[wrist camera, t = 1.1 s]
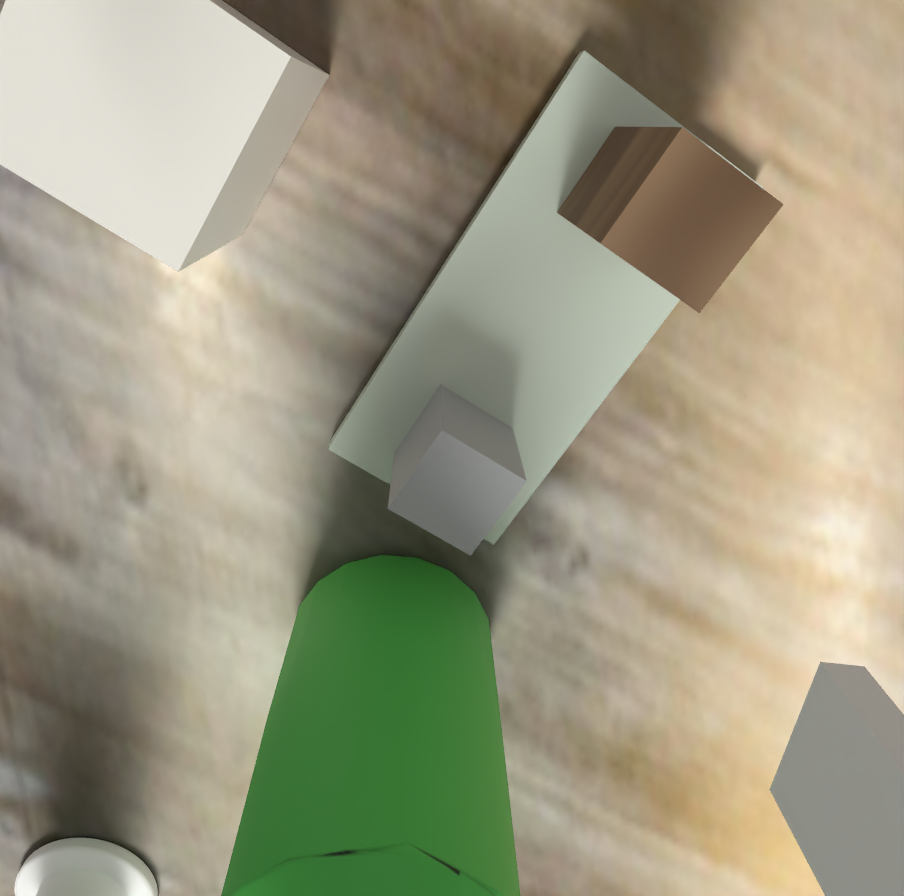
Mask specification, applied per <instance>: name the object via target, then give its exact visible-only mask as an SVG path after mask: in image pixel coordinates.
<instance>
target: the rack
mask: <svg viewBox="0 0 904 896" xmlns="http://www.w3.org/2000/svg"><path fill="white" fill-rule="evenodd" d="M614 127H683V128H684V129H686V128H685V127H684V126H682V125H681V124H680V123H678V122H677V121H676V120H674V119H673V118H672V117H671V116H669V115H668V114H667V113H665V112H664V111H663V110H661V109H660V108H659V107H658V106H656V105H655V104H654V103H652V102H651V101H650V100H648V99H647V98H646V97H644V96H643V95H642V94H641V93H639V92H638V91H637V90H635V89H634V88H633V87H631V86H630V85H629V84H627V83H626V82H625V81H624V80H622V79H621V78H620V77H618V76H617V75H616V74H614V73H613V72H612V71H611V70H609V69H608V68H607V67H605V66H604V65H603V64H601V63H600V62H599V61H597V60H596V59H595V58H594V57H592V56H591V55H590V54H588V53H587V52H586V51H582V52H580V53H579V54H578V55H577V57H576V58H575V60H574V61H573V63H572V65H571V66H570V68H569V69H568V71H567V72H566V74H565V75H564V77H563V79H562V80H561V82H560V83H559V85H558V86H557V88H556V90H555V91H554V93H553V94H552V96H551V97H550V99H549V100H548V102H547V104H546V105H545V107H544V108H543V110H542V111H541V113H540V114H539V116H538V118H537V119H536V121H535V122H534V124H533V125H532V127H531V128H530V130H529V132H528V133H527V135H526V136H525V138H524V139H523V141H522V143H521V144H520V146H519V147H518V149H517V150H516V152H515V153H514V155H513V157H512V158H511V160H510V161H509V163H508V164H507V166H506V167H505V169H504V171H503V172H502V174H501V175H500V177H499V178H498V180H497V181H496V183H495V185H494V186H493V188H492V189H491V191H490V192H489V194H488V196H487V197H486V199H485V200H484V202H483V203H482V205H481V206H480V208H479V210H478V211H477V213H476V214H475V216H474V217H473V219H472V220H471V222H470V224H469V225H468V227H467V228H466V230H465V231H464V233H463V234H462V236H461V238H460V239H459V241H458V242H457V244H456V245H455V247H454V249H453V250H452V252H451V253H450V255H449V256H448V258H447V259H446V261H445V263H444V264H443V266H442V267H441V269H440V270H439V272H438V273H437V275H436V277H435V278H434V280H433V281H432V283H431V284H430V286H429V287H428V289H427V291H426V292H425V294H424V295H423V297H422V298H421V300H420V302H419V303H418V305H417V306H416V308H415V309H414V311H413V312H412V314H411V316H410V317H409V319H408V320H407V322H406V323H405V325H404V326H403V328H402V330H401V331H400V333H399V334H398V336H397V337H396V339H395V340H394V342H393V344H392V345H391V347H390V348H389V350H388V351H387V353H386V354H385V356H384V358H383V359H382V361H381V362H380V364H379V365H378V367H377V369H376V370H375V372H374V373H373V375H372V376H371V378H370V379H369V381H368V383H367V384H366V386H365V387H364V389H363V390H362V392H361V393H360V395H359V397H358V398H357V400H356V401H355V403H354V404H353V406H352V407H351V409H350V411H349V412H348V414H347V415H346V417H345V418H344V420H343V422H342V423H341V425H340V426H339V428H338V429H337V431H336V432H335V434H334V436H333V437H332V439H331V441H330V444H329V447H328V450H330V451H332V452H333V453H335V454H337V455H339V456H340V457H342V458H344V459H346V460H347V461H349V462H351V463H353V464H354V465H356V466H358V467H360V468H361V469H363V470H365V471H367V472H368V473H370V474H372V475H373V476H375V477H377V478H379V479H380V480H382V481H384V482H386V483H387V484H389V485H390V493H389V501H388V509H389V510H391V511H393V512H394V513H396V514H398V515H400V516H401V517H403V518H405V519H407V520H408V521H410V522H412V523H414V524H415V525H417V526H419V527H421V528H423V529H424V530H426V531H428V532H430V533H431V534H433V535H435V536H437V537H438V538H440V539H442V540H444V541H445V542H447V543H449V544H451V545H452V546H454V547H456V548H458V549H460V550H461V551H463V552H465V553H467V554H468V555H470V556H471V555H472V553H473V552H474V551H475V549H476V548H477V547H478V545H479V544H480V543H481V541H482V540H483V539H485V540H486V541H488V542H490V543H492V544H493V545H494V544H495V543H496V541H497V540H498V539H499V537H500V536H501V535H502V534H503V532H504V531H505V530H506V528H507V527H508V526H509V524H510V523H511V522H512V520H513V519H514V518H515V516H516V515H517V514H518V512H519V511H520V510H521V509H522V507H523V506H524V505H525V503H526V502H527V501H528V499H529V498H530V497H531V495H532V494H533V493H534V491H535V490H536V489H537V487H538V486H539V485H540V484H541V482H542V481H543V480H544V478H545V477H546V476H547V474H548V473H549V472H550V470H551V469H552V468H553V466H554V465H555V464H556V462H557V461H558V460H559V459H560V457H561V456H562V455H563V453H564V452H565V451H566V449H567V448H568V447H569V445H570V444H571V443H572V441H573V440H574V439H575V437H576V436H577V435H578V433H579V432H580V431H581V430H582V428H583V427H584V426H585V424H586V423H587V422H588V420H589V419H590V418H591V416H592V415H593V414H594V412H595V411H596V410H597V408H598V407H599V406H600V405H601V403H602V402H603V401H604V399H605V398H606V397H607V395H608V394H609V393H610V391H611V390H612V389H613V387H614V386H615V385H616V383H617V382H618V381H619V380H620V378H621V377H622V376H623V374H624V373H625V372H626V370H627V369H628V368H629V366H630V365H631V364H632V362H633V361H634V360H635V358H636V357H637V356H638V355H639V353H640V352H641V351H642V349H643V348H644V347H645V345H646V344H647V343H648V341H649V340H650V339H651V337H652V336H653V335H654V333H655V332H656V331H657V330H658V328H659V327H660V326H661V324H662V323H663V322H664V320H665V319H666V318H667V316H668V315H669V314H670V312H671V311H672V310H673V308H674V307H675V306H676V304H677V303H678V302H679V301H680V299H679V298H677V297H676V296H674V295H673V294H671V293H670V292H669V291H667V290H666V289H664V288H663V287H661V286H660V285H659V284H657V283H656V282H654V281H653V280H651V279H650V278H649V277H647V276H646V275H644V274H643V273H642V272H640V271H639V270H637V269H636V268H634V267H633V266H632V265H630V264H629V263H627V262H626V261H624V260H623V259H622V258H620V257H619V256H617V255H616V254H614V253H613V252H612V251H610V250H609V249H607V248H606V247H605V246H603V245H602V244H600V243H599V242H597V241H596V240H595V239H593V238H592V237H590V236H589V235H588V234H586V233H585V232H583V231H582V230H581V229H579V228H578V227H576V226H575V225H574V224H572V223H571V222H569V221H568V220H567V219H565V218H564V217H562V216H561V215H559V214H558V213H557V212H558V210H559V209H560V207H561V206H562V204H563V203H564V201H565V200H566V198H567V197H568V195H569V194H570V192H571V191H572V189H573V188H574V186H575V185H576V183H577V182H578V181H579V179H580V178H581V176H582V175H583V173H584V172H585V170H586V169H587V167H588V166H589V164H590V163H591V161H592V160H593V158H594V157H595V155H596V154H597V152H598V151H599V149H600V148H601V147H602V145H603V144H604V142H605V141H606V139H607V138H608V136H609V135H610V133H611V132H612V130H613V129H614ZM686 130H687V131H688V132H689V133H691V132H690V131H689V130H688V129H686ZM691 134H692V135H693V136H695V135H694V134H693V133H691ZM695 137H696V138H697V139H699V138H698V137H697V136H695ZM699 140H700V141H701V142H703V141H702V140H701V139H699ZM703 143H704V142H703ZM704 144H705V145H706V146H708V145H707V144H706V143H704ZM708 147H709V148H710V149H712V148H711V147H710V146H708ZM712 150H713V151H714V152H716V151H715V150H714V149H712ZM716 153H717V154H718V155H720V154H719V153H718V152H716ZM720 156H721V155H720ZM721 157H722V158H723V159H725V158H724V157H723V156H721ZM725 160H726V161H727V162H729V161H728V160H727V159H725ZM729 163H730V164H731V165H733V164H732V163H731V162H729ZM733 166H734V165H733ZM734 167H735V168H736V169H738V168H737V167H736V166H734ZM738 170H739V171H740V172H742V171H741V170H740V169H738ZM742 173H743V174H744V175H746V174H745V173H744V172H742ZM746 176H747V177H748V178H750V177H749V176H748V175H746ZM750 179H751V178H750ZM751 180H752V181H753V182H755V181H754V180H753V179H751ZM755 183H756V184H757V185H759V184H758V183H757V182H755ZM759 186H760V187H761V188H763V187H762V186H761V185H759ZM763 189H764V188H763Z"/></svg>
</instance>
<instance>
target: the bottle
mask: <svg viewBox="0 0 904 896" xmlns="http://www.w3.org/2000/svg"><path fill="white" fill-rule="evenodd" d="M221 896H520V889H519V880H518V871H517V862H516V853H515V844H514V835H513V826H512V817H511V808H510V799H509V790H508V782H507V773H506V764H505V755H504V746H503V737H502V728H501V720H500V711H499V703H498V694H497V686H496V678H495V669H494V661H493V652H492V644H491V635H490V627H489V619H488V617H487V615H486V613H485V612H484V610H483V608H482V606H481V604H480V602H479V600H478V598H477V596H476V594H475V592H474V591H472V590H471V589H470V588H469V587H468V586H467V585H466V584H464V583H463V582H462V581H461V580H460V579H459V578H458V577H456V576H455V575H454V574H453V573H452V572H451V571H449V570H447V569H444V568H442V567H439V566H437V565H434V564H432V563H429V562H427V561H425V560H422V559H420V558H415V557H402V556H389V555H379V556H375V557H371V558H366V559H362V560H358V561H354V562H349V563H346V564H345V565H343V566H341V567H340V568H338V569H337V570H335V571H333V572H332V573H330V574H329V575H327V576H325V577H324V578H322V579H321V580H319V581H318V582H317V583H316V585H315V586H314V587H313V589H312V590H311V591H310V593H309V594H308V595H307V596H306V598H305V599H304V600H303V602H302V603H301V604H300V606H299V610H298V613H297V617H296V620H295V623H294V627H293V630H292V634H291V637H290V641H289V644H288V648H287V651H286V655H285V658H284V662H283V665H282V669H281V672H280V676H279V679H278V683H277V686H276V690H275V693H274V697H273V700H272V704H271V707H270V711H269V714H268V718H267V722H266V725H265V729H264V733H263V737H262V741H261V745H260V749H259V752H258V756H257V760H256V764H255V768H254V772H253V775H252V779H251V783H250V787H249V791H248V795H247V799H246V802H245V806H244V810H243V814H242V818H241V822H240V826H239V829H238V833H237V837H236V841H235V845H234V849H233V853H232V856H231V860H230V864H229V868H228V872H227V876H226V879H225V883H224V887H223V891H222V895H221Z"/></svg>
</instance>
